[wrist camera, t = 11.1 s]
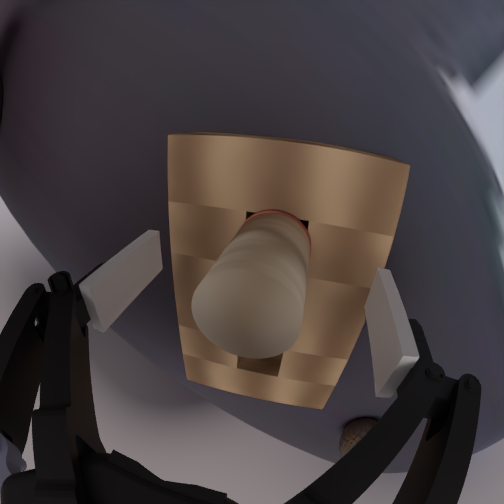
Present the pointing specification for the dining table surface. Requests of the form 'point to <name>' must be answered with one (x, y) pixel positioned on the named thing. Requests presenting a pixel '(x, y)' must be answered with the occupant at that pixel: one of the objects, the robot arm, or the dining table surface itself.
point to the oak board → (321, 259)
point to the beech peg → (256, 287)
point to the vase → (354, 434)
